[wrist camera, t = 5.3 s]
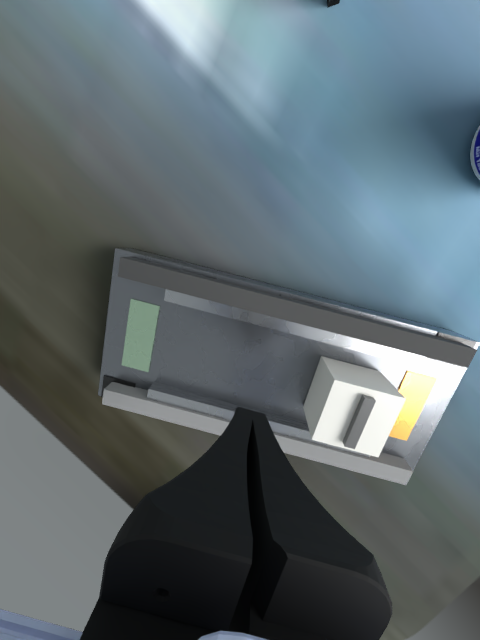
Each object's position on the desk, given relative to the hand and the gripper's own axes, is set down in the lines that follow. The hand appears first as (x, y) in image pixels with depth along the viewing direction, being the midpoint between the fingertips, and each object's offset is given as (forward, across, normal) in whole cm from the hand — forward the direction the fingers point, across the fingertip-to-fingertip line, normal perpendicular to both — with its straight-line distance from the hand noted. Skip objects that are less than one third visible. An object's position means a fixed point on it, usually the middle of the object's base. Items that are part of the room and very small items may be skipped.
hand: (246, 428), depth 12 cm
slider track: (+9, -2, 0) cm, 9 cm away
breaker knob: (+7, -6, 0) cm, 9 cm away
